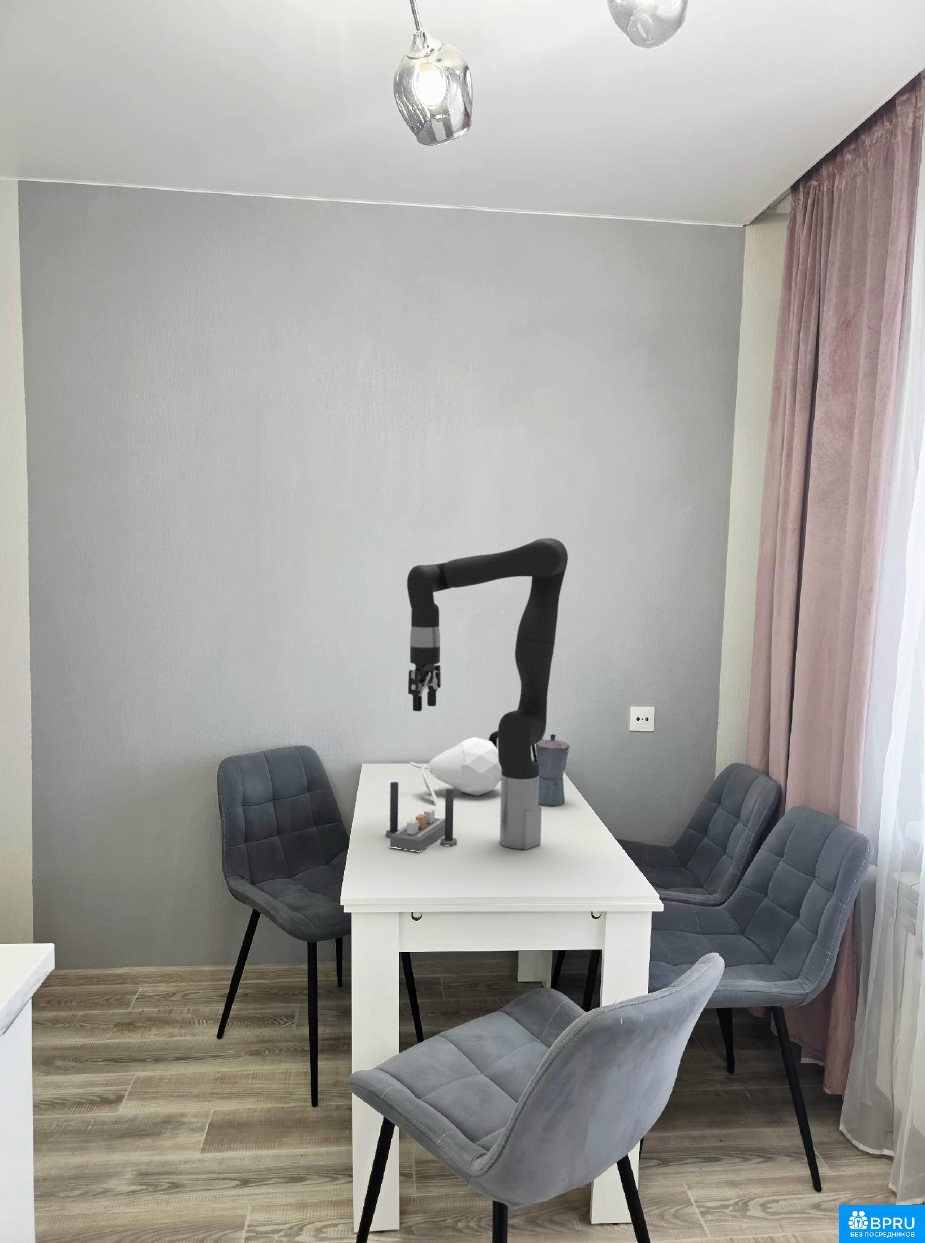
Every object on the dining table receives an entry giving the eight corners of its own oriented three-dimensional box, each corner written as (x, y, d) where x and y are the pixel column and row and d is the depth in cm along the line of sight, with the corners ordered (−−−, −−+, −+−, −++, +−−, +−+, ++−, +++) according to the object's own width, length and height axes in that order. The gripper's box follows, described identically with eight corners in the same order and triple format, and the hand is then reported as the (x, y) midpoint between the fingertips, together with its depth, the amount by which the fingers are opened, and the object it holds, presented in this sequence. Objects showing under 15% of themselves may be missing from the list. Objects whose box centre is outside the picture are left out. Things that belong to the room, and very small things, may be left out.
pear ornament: (503, 725, 270) (410, 727, 265) (516, 784, 253) (416, 787, 249) (496, 761, 280) (406, 763, 276) (508, 820, 264) (412, 824, 259)
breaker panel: (420, 852, 215) (420, 838, 214) (390, 848, 218) (390, 833, 217) (449, 831, 231) (449, 817, 231) (421, 827, 234) (421, 813, 234)
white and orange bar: (413, 834, 218) (413, 823, 218) (406, 833, 219) (407, 822, 218) (434, 820, 230) (434, 809, 229) (428, 819, 230) (428, 808, 230)
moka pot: (556, 811, 251) (558, 740, 250) (517, 799, 263) (518, 731, 261) (578, 805, 258) (581, 735, 256) (539, 793, 269) (541, 727, 268)
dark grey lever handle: (404, 835, 227) (405, 783, 226) (393, 839, 224) (394, 785, 223) (393, 832, 230) (394, 780, 229) (382, 835, 227) (383, 782, 226)
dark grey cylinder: (460, 843, 222) (461, 789, 221) (449, 847, 219) (450, 792, 218) (448, 840, 225) (449, 786, 223) (437, 843, 222) (438, 789, 220)
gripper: (426, 647, 219) (426, 714, 220) (450, 642, 232) (449, 705, 233) (398, 646, 222) (398, 711, 223) (423, 641, 235) (423, 703, 236)
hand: (424, 708), depth 228 cm, fingers open, 8 cm apart
